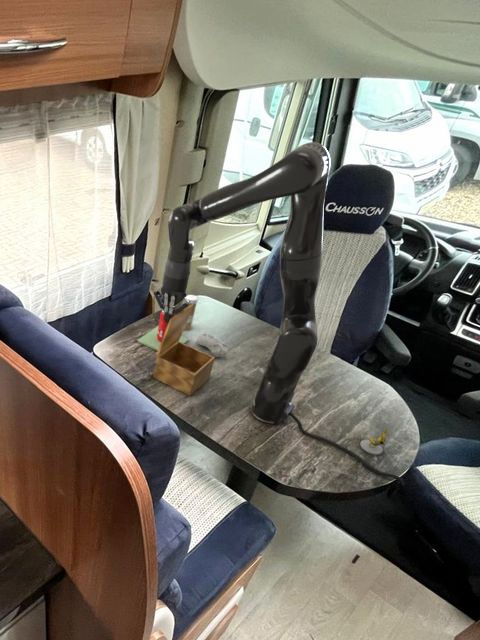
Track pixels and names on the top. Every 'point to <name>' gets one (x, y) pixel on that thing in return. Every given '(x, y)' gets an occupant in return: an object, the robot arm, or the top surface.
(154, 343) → the pad
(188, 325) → the sprinkles bottle
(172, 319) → the chest lid
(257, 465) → the top surface
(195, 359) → the chest
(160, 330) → the beverage can
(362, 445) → the figurine
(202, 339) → the decorative stone
